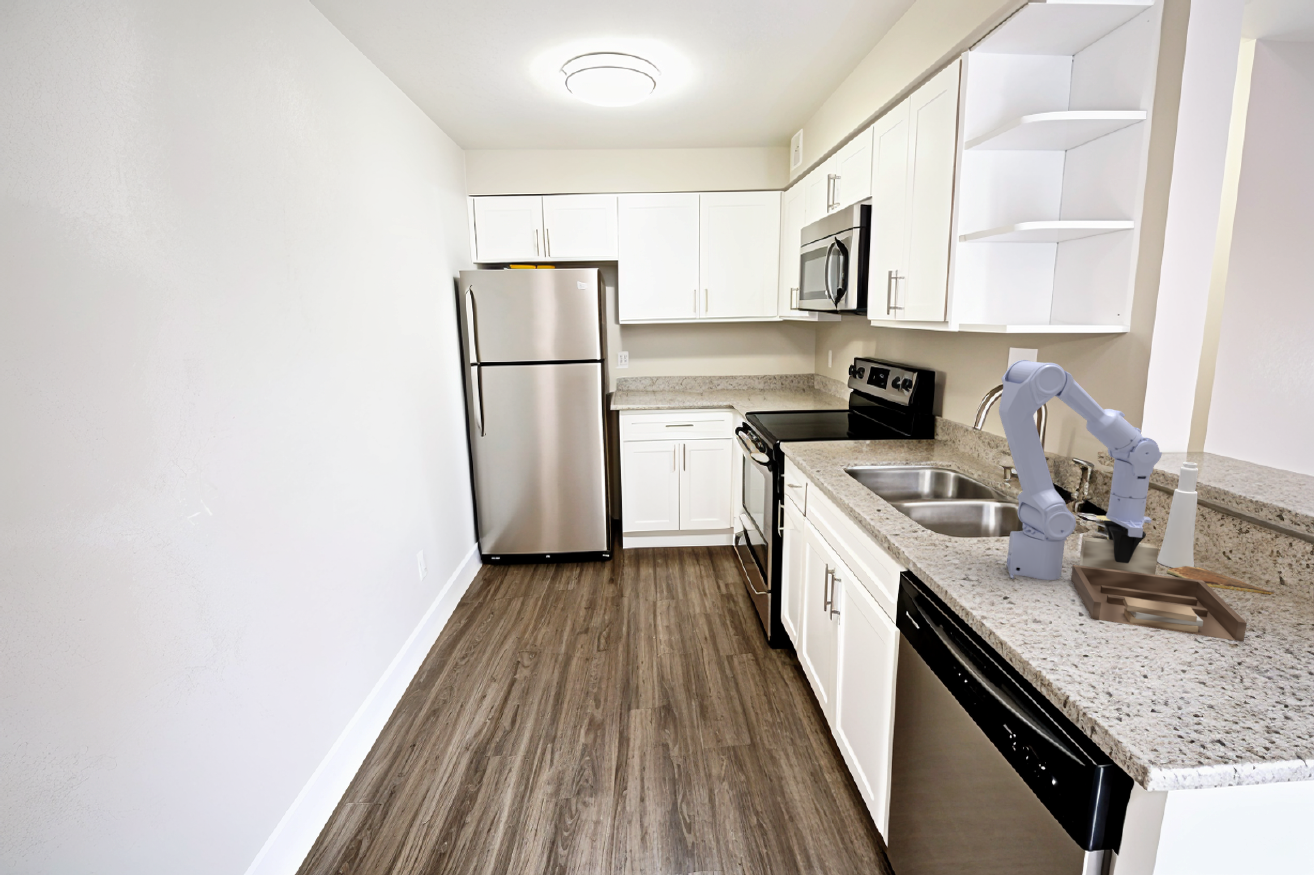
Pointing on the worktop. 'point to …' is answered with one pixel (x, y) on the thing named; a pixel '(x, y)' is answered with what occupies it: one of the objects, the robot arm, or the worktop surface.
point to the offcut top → (1160, 609)
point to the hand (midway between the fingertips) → (1119, 559)
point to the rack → (1155, 599)
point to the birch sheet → (1103, 557)
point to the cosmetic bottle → (1181, 521)
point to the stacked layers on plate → (1101, 526)
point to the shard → (1215, 579)
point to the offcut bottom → (1160, 623)
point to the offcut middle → (1166, 619)
